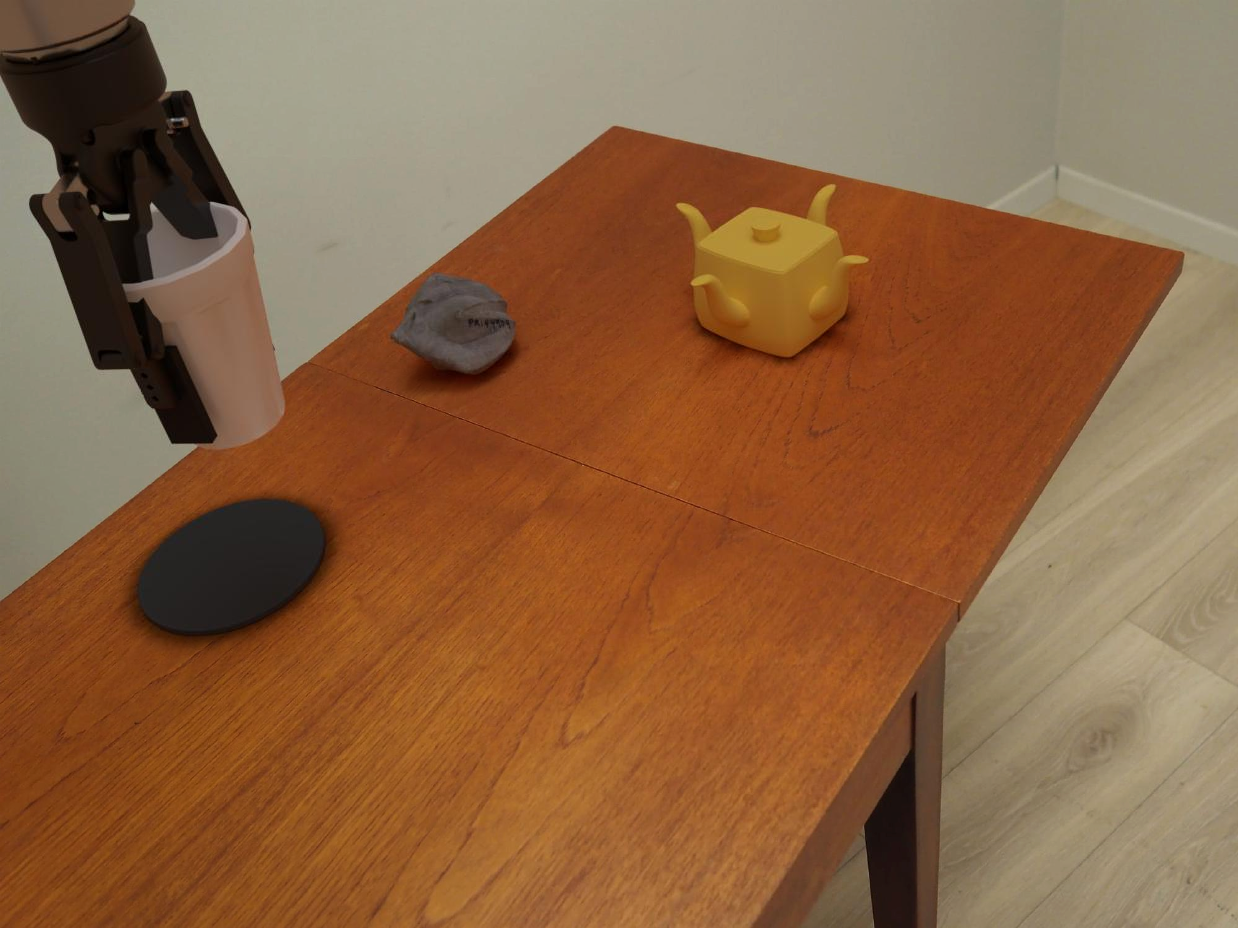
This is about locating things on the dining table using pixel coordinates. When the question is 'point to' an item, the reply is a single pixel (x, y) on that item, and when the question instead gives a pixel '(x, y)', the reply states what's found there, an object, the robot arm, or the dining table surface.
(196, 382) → the cup
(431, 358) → the fossil
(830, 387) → the dining table surface
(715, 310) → the teapot
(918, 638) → the dining table surface
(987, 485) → the dining table surface
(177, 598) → the mat
